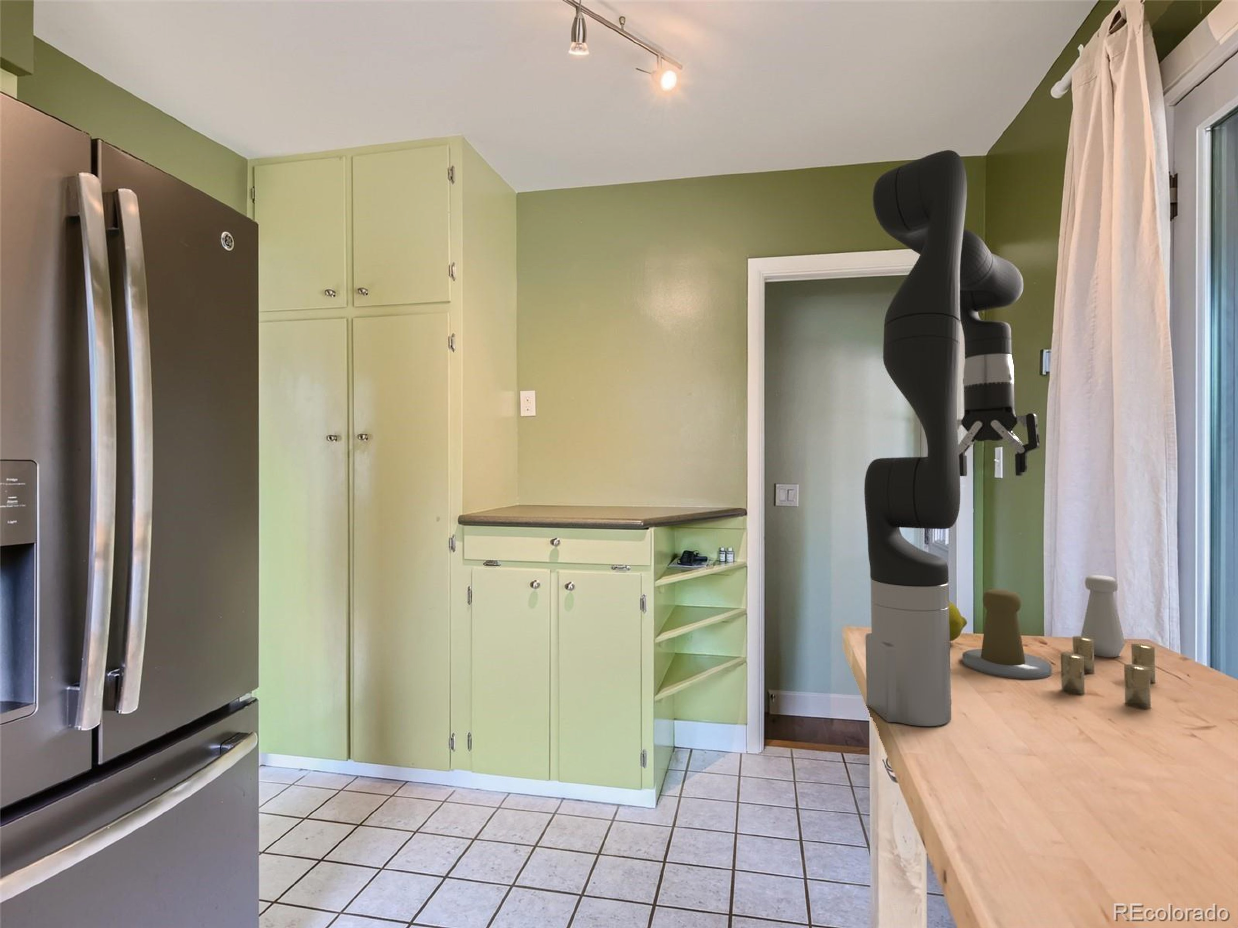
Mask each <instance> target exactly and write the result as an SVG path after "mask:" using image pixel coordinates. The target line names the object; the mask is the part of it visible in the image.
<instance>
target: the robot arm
mask: <svg viewBox="0 0 1238 928" xmlns="http://www.w3.org/2000/svg"><path fill="white" fill-rule="evenodd" d="M967 191H968V181H967V173H966V168H965V164H964V161H963V159H962V156H960V155H959V153H957V152H956V151H954V150H950V149H946V150H941V151H938V152H934V153H930V154H928V155H926V156H924V157H921V158H917V159H916V160H913V161H911V162H908V163H906V164H903V165H900V166H898V167H896V168H895V167H894V168H893V169H891V170H888V171H886V172H885V173H883V174H882V175H880V177H878V179H877V180H876V182H875V184H874V187H873V192H872V193H873V194H872V205H873V206H872V207H873V210H874V214H875V217H876V219H877V221H878V223H879V224H880V226H881V227H882V229H883V231H884V232H885V233H887V234H888V235H889V236H891V238H893V239H895V240H896V241H898V242H899V243H901V244H903V245H904V246H906V247H907V248H908V249H910V250H911V251H913V252H915V253H916V254H918V255H919V257H918V258H917V261H915V263H914V265H913V266H912V268H911V270H910V271H909V273H908V275H907V276H906V277H905V279H904V280H903V282H902V284H901V285H900V287H899V288H898V290H897V291H896V293H895V295H894V296H893V298H892V300H891V301H890V304H888V308H887V311H886V313H885V317H884V321H883V322H884V323H883V346H882V347H883V349H882V360H883V365H884V368H885V370H886V372H887V374H888V375H889V377H890V379H891V380H892V382H893V383H894V384H895V386H896V388H897V389H898V390H899V392H900V393H901V394H902V395H903V397H904V399H906V401H907V402H908V404H909V405H910V406H911V408H912V410H913V411H914V413H915V415H916V417H917V418H918V420H919V422H920V424H921V426H922V428H923V431H924V435H925V438H926V444H927V456H908V457H907V456H905V457H903V456H898V457H881V458H875V459H873V460H872V461H871V462H870V463H869V465H868V466H867V469H866V472H865V475H864V476H865V478H864V487H863V488H864V491H863V492H864V507H865V521H866V533H867V553H868V554H867V555H868V561H869V571H870V572H869V574H870V575H869V577H870V609H871V610H870V613H871V614H870V617H871V618H870V620H871V621H870V624H871V632H869V633H866V634H865V637H864V638H865V639H864V640H865V681H866V682H865V684H866V685H865V688H866V690H865V691H866V704H867V706H868V707H870V708H871V709H872V710H873V711H874V712H876V714H878V715H879V716H880V717H881V718H882V719H883V720H885V721H886V722H888V723H900V724H905V725H908V726H909V725H911V726H916V727H917V726H919V727H934V726H935V727H936V726H942V725H946V724H947V723H949V722H950V721H951V720H952V689H951V688H952V686H951V681H952V680H951V677H952V676H951V645H950V644H951V641H950V629H949V602H950V596H949V595H950V588H949V587H950V586H949V584H950V583H949V567H948V563H947V562H946V560H945V559H943V558H942V557H940V556H938V555H937V554H933V553H930V552H928V551H926V550H923V549H921V548H919V547H917V546H915V545H914V544H912V543H911V542H909V541H908V540H907V539H906V538H905V537H904V536H903V535H902V532H901V529H900V528H902V529H904V528H905V529H907V528H908V529H929V530H931V529H932V530H947V529H951V528H952V527H953V526H954V525H955V524H956V521H957V519H958V517H959V512H960V507H961V477H967V476H968V458H967V457H968V455H966V453H967V452H968V450H969V449H970V448H971V447H972V446H973V445H974V444H975V442H988V441H993V442H1000V441H1002V440H1005V442H1006V443H1008V444H1009V445H1010V446H1011V447H1012V448H1013V449H1014V450H1015V451H1016V453H1015V454H1014V462H1015V463H1014V464H1015V466H1014V467H1015V470H1014V471H1015V472H1014V473H1015V476H1016V477H1022V476H1024V473H1026V472H1027V471H1028V453H1029V452H1031V451H1034V450H1038V449H1039V448H1040V447H1041V444H1040V433H1039V432H1040V431H1039V422H1038V415H1036V413H1031V412H1030V413H1027V414H1024V415H1017V414H1016V410H1015V377H1014V375H1015V373H1014V370H1015V369H1014V363H1013V357H1012V354H1013V353H1012V329H1011V326H1010V324H1009V323H1007V322H1006V321H1001V320H982V319H981V318H980V315H979V312H982V311H987V310H994V309H998V308H1004V307H1008V306H1009V307H1010V305H1013V304H1014V303H1016V302H1017V301H1018V300H1019V299H1020V297H1021V296H1022V293H1023V290H1024V279H1023V275H1022V274H1021V272H1020V270H1019V268H1018V267H1016V265H1015V264H1013V263H1012V262H1010V261H1008V260H1007V259H1005V258H1002V257H1001V256H999V255H996V254H994V253H992V252H991V251H990V249H989V248H988V246H987V245H986V244H985V242H984V241H983V239H982V238H981V237H980V236H979V235H978V234H976V233H975V232H973V231H971V230H968V229H967V228H965V218H966V208H967V195H968V193H967ZM961 328H962V333H963V338H964V365H963V378H962V384H963V409H964V410H963V411H964V412H963V417H962V418H961V419H960V418H959V419H958V387H959V385H958V384H959V370H960V369H959V365H960V351H961V350H960V348H961ZM1018 423H1021V426H1022V427H1023V428H1026V433H1027V442H1028V443H1025V444H1024V443H1023V442H1022V441H1021V440H1020V439H1019V437H1017V435H1016V434H1015V433H1014V432H1013V429H1015V427H1016V426H1017V425H1018ZM961 426H962V427H963V428H964V430H965V431H966V434H965V435H964V436H963V438H962V439H961V441H960V442H959V433H958V432H959V428H960V427H961Z"/></svg>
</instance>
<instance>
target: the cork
mask: <svg viewBox="0 0 1238 928" xmlns="http://www.w3.org/2000/svg"><path fill="white" fill-rule="evenodd" d="M1021 599H1022V598H1021V597H1020V596H1019V594H1018V593H1017V592H1015V591H1012V590H1008V589H1003V588H1002V589H997V588H996V589H989V590H988V589H987V591H985V592H984V594H983V595H982V604H983V606H984V608H985V609H986V612H985V613H986V614H985V622H984V630H983V637H982V645H981V649H982V651H981V658H982V659H984V660H986V661H989V662H992V663H996V664H1002V665H1023V664H1025V656H1024V645H1023V638H1022V635H1021V628H1020V623H1019V617H1018V612H1019V611H1020V610H1021V608H1022V600H1021Z"/></svg>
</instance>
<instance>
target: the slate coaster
mask: <svg viewBox="0 0 1238 928" xmlns="http://www.w3.org/2000/svg"><path fill="white" fill-rule="evenodd" d="M981 651H982V648H974V649H969V650H966V651H964V652H963V653H962V658H961V659H962V660H961V661H962V663H963V665H965V666H966V665H967V666H966V667H968V668H969V667H970V668H969V669H972V670H974V671H977V672H980V673H984V674H986V675H987V674H988V675H991V676H995V677H1003V678H1009V679H1016V680H1019V679H1020V680H1040V679H1045V678H1048V677H1050V676H1051V675H1053V666H1052V663H1050V662H1049V661H1047V660H1046V659H1043V658H1041V657H1039V656H1035V655H1031V654H1029V653H1024V656H1025V664H1023V665H1002V664H996V663H992V662H989V661H986V660H984V659H982V658H981Z"/></svg>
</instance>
